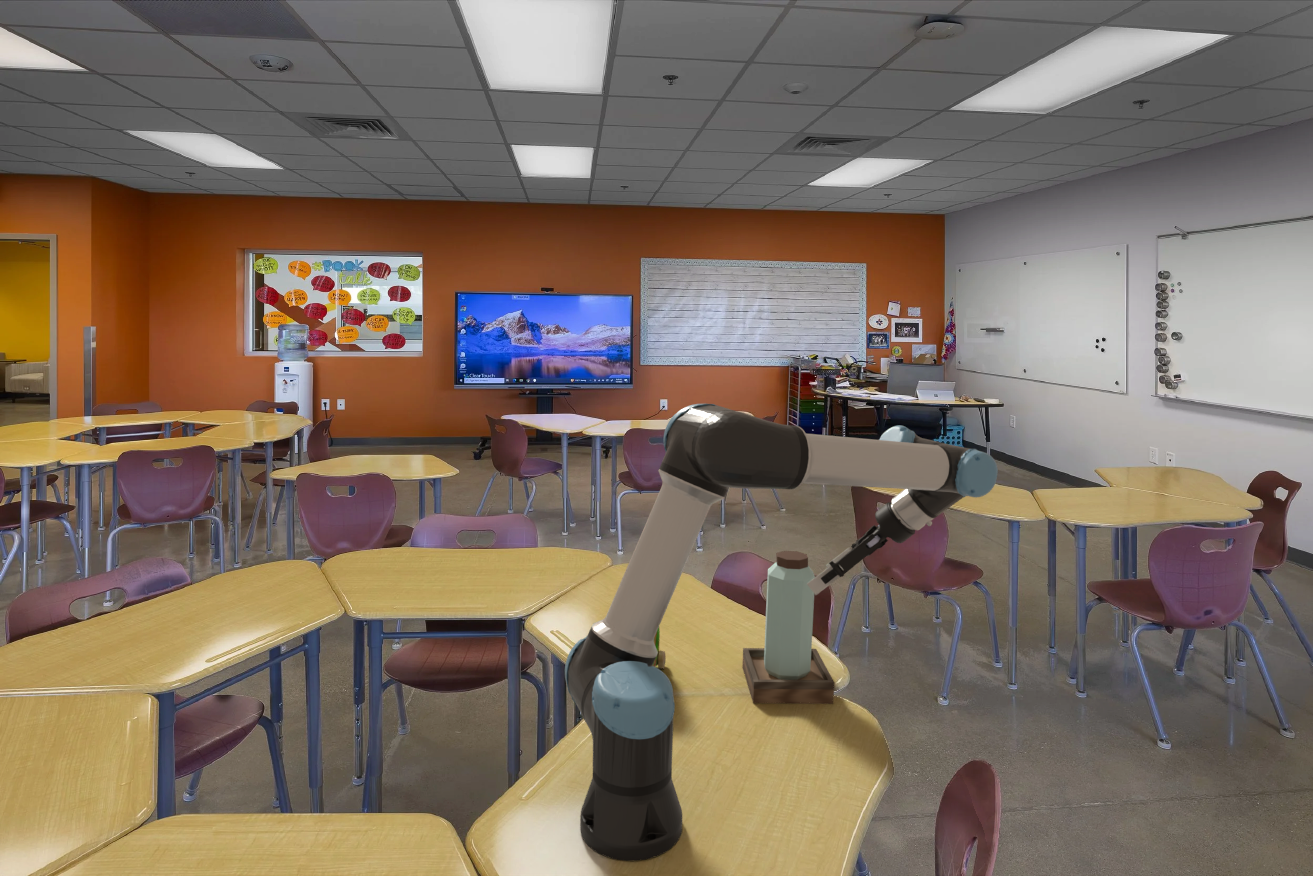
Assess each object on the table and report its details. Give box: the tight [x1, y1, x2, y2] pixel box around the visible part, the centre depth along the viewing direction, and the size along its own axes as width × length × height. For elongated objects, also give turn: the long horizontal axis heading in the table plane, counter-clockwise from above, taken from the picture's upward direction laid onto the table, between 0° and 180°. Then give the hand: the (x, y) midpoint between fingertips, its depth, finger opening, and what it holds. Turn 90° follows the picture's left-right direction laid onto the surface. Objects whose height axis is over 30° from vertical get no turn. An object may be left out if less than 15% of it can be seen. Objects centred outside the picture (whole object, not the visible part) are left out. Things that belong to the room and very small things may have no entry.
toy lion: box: [653, 627, 667, 669], centre depth 161 cm, size 16×5×15 cm, turn 171°
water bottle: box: [764, 550, 816, 680], centre depth 159 cm, size 10×10×25 cm
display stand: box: [741, 647, 835, 705], centre depth 161 cm, size 16×16×4 cm
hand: (821, 579), depth 155 cm, fingers open, 13 cm apart
